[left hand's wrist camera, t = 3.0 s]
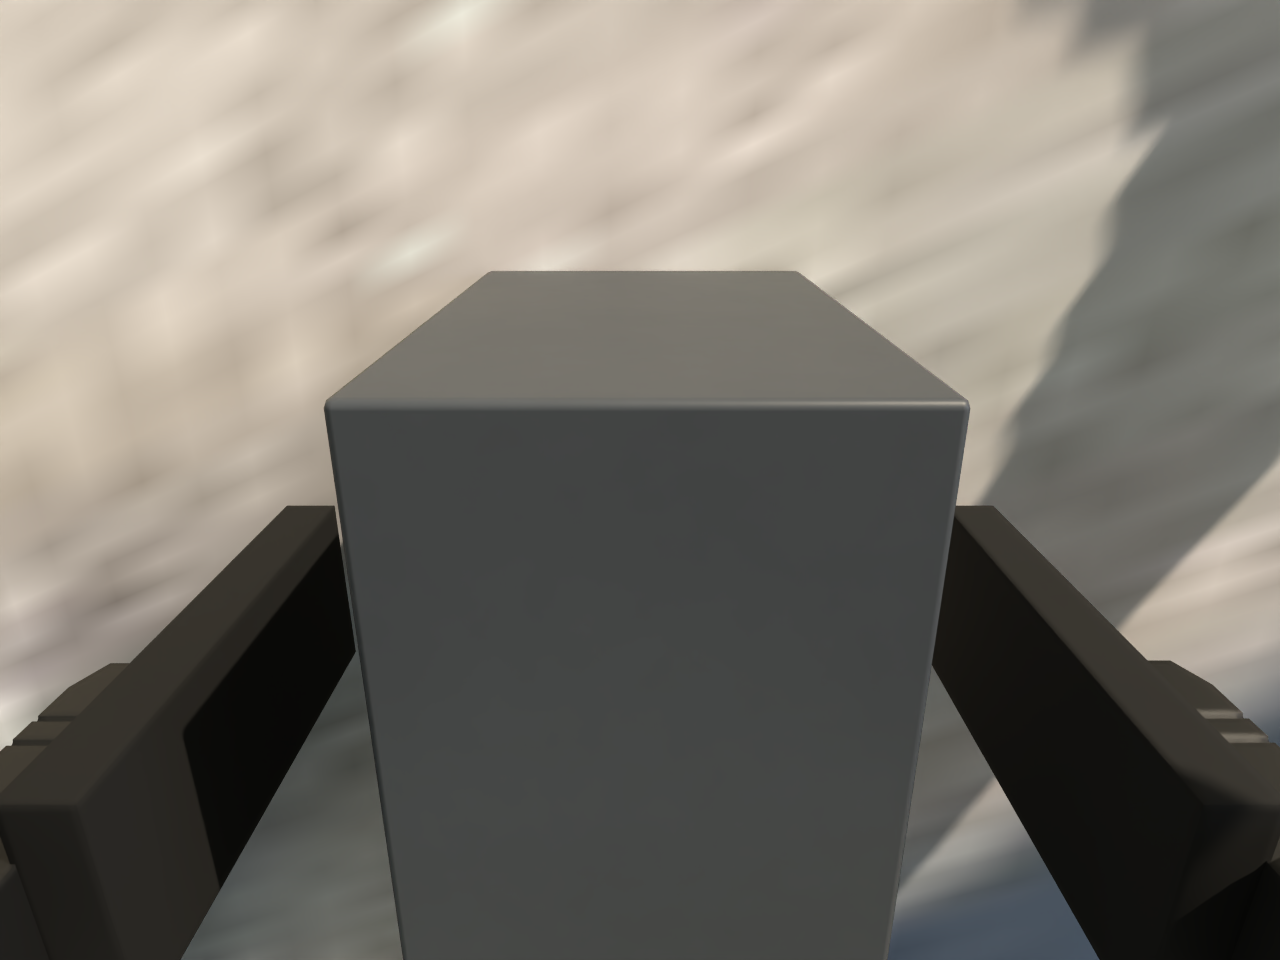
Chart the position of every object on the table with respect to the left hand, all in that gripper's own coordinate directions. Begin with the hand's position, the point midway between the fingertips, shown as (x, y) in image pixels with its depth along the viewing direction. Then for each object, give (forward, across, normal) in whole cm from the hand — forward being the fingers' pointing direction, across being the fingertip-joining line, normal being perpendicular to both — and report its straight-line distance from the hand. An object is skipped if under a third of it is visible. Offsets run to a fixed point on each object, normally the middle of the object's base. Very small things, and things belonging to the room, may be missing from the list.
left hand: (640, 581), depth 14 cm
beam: (+1, 0, -26) cm, 26 cm away
